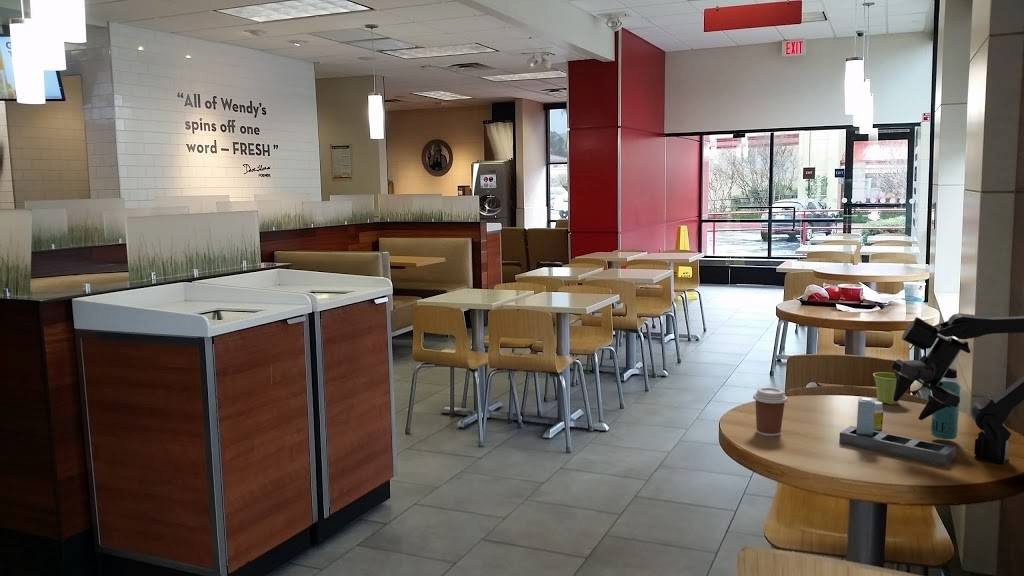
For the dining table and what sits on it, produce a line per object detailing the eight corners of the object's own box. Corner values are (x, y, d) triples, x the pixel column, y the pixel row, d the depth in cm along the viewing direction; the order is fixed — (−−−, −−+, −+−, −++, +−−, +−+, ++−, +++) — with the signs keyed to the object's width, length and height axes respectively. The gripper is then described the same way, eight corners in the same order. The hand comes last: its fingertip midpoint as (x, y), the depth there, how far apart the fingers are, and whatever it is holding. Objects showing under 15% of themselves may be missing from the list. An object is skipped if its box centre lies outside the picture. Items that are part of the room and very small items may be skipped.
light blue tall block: (871, 442, 219) (874, 398, 217) (872, 447, 215) (875, 401, 214) (855, 440, 220) (858, 396, 219) (855, 445, 217) (858, 400, 215)
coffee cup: (765, 425, 234) (767, 384, 232) (792, 433, 226) (794, 391, 225) (744, 431, 228) (746, 389, 227) (771, 439, 221) (773, 396, 219)
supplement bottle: (883, 434, 226) (885, 405, 225) (865, 433, 227) (867, 404, 226) (879, 429, 231) (881, 400, 230) (861, 428, 232) (863, 399, 230)
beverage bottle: (957, 439, 222) (963, 367, 219) (956, 446, 216) (962, 372, 213) (930, 436, 225) (935, 364, 222) (928, 442, 219) (934, 369, 217)
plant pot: (865, 398, 263) (866, 372, 262) (891, 397, 265) (893, 371, 263) (883, 406, 254) (885, 379, 253) (910, 405, 255) (912, 378, 254)
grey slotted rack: (954, 458, 207) (955, 446, 207) (945, 466, 201) (946, 454, 201) (850, 436, 224) (850, 425, 224) (839, 443, 218) (839, 432, 218)
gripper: (893, 334, 213) (861, 384, 217) (947, 368, 196) (912, 422, 200) (921, 345, 217) (890, 394, 221) (976, 379, 201) (941, 432, 205)
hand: (907, 410), depth 212 cm, fingers open, 9 cm apart
